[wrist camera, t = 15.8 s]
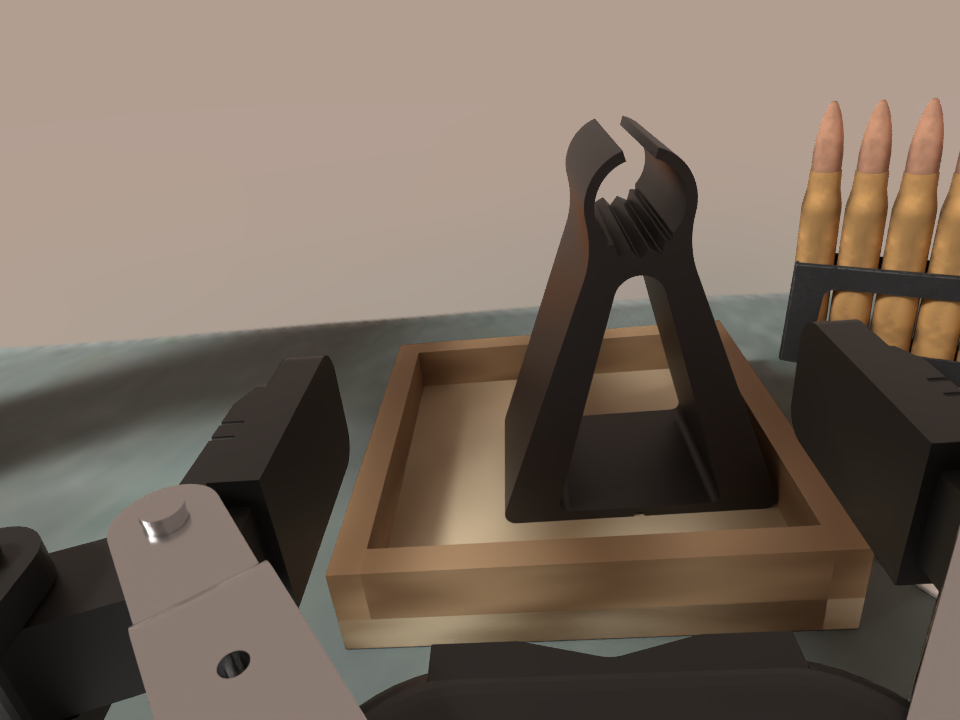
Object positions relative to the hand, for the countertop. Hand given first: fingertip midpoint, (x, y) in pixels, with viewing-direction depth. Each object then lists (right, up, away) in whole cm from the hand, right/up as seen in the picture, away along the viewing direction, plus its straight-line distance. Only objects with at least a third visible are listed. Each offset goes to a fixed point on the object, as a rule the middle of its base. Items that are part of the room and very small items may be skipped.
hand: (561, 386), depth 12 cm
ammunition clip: (+18, 0, +20) cm, 27 cm away
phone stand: (+4, -4, +14) cm, 15 cm away
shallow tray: (+2, -4, +15) cm, 16 cm away
